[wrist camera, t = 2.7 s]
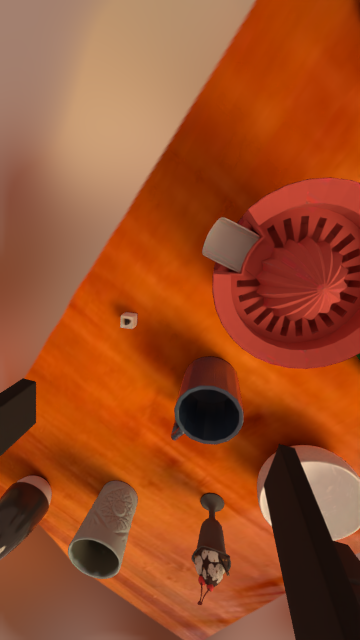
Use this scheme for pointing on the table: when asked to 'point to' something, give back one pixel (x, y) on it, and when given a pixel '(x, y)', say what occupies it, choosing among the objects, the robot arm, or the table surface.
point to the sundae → (211, 547)
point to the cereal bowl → (324, 489)
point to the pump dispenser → (22, 510)
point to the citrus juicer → (292, 274)
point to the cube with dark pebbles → (128, 320)
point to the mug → (208, 402)
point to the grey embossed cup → (104, 532)
